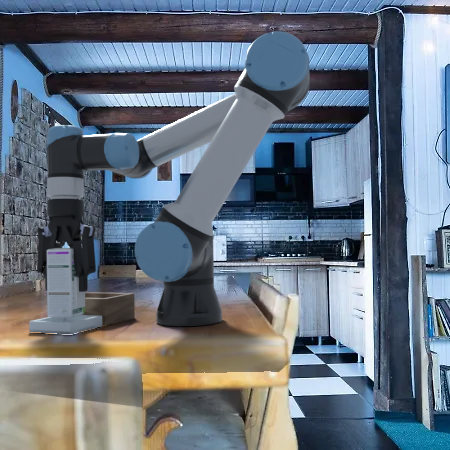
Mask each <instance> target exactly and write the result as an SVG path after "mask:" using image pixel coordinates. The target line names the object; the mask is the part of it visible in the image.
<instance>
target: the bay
mask: <svg viewBox="0 0 450 450" xmlns="http://www.w3.org/2000/svg"><path fill="white" fill-rule="evenodd" d="M135 310H136V309H135V293H134V292H133V293H131V292H127V293H126V292H125V293H124V292H89V291H85V313H84V314H82V315H97V316H102V325H108V326H110V325H109V324H112V325H115V324H118V322H119V323H122V322H126V321H129V320H134V319H135V318H136V316H135V315H136V314H135ZM114 323H115V324H114Z"/></svg>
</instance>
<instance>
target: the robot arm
mask: <svg viewBox="0 0 450 450" xmlns="http://www.w3.org/2000/svg"><path fill="white" fill-rule="evenodd" d="M310 64H311V63H310V57H309V53H308V51H307V50H306V47H305V45H304V44H303V42H302V41H301V40H300V38H298V37H297V36H295V35H293V34H291V33H289V32H286V31H279V30H278V31H277V30H276V31H271V32H267V33H264V34H262V35H260V36H258V37H257V38H256V39H255V40H254V41H253V42H252V43H251V45H250V46H249V47H248V49H247V53H246V55H245V61H244V67H245V68H244V70H243V71H242V73H241V75H240V76H239V77H238V81H237V82H236V83H235V85H234V87H233V89H234V93H232V94H231V95H228V96H227V97H225V98H222V99H220V100H218V101H216V102H214V103H212V104H209V105H208V106H206V107H203V108H201V109H199V110H197V111H194V112H193V113H191V114H189V115H187V116H185V117H183V118H181V119H178V120H177V121H175V122H172V123H170V124H168V125H166V126H163V127H162V128H160V129H158V130H156V131H154V132H152V133H149V134H148V135H145V136H143V137H141V138H139V139H138V140H137V139H136V137H135V136H134V135H133V134H132V133H129V132H128V133H123V132H114V133H113V132H112V133H104V134H103V133H102V134H101V133H99V134H91V135H90V134H89V135H87V134H86V135H84V130H83V128H81V127H79V126H76V125H69V124H68V125H64V124H59V125H54V126H53V125H52V126H51V127H50V128H49V129H48V131H47V136H46V137H47V139H46V140H47V141H46V146H45V147H46V154H47V155H46V157H47V158H46V162H47V164H46V165H47V179H46V180H47V181H46V185H47V186H46V187H47V188H46V197H47V198H49V199H48V200H47V202H46V204H47V205H46V207H47V208H46V211H47V212H46V215H47V217H48V218H49V222H48V225H47V226H45V227H38V228H37V231H36V232H37V236H38V246H37V247H38V250H37V266H36V267H37V268H36V272H37V273H38V274H43V276H44V278H45V279H44V283H45V285H44V288H45V291H46V292H47V250H48V249H54V248H64V246H65V245H67V247H68V248H71V249H73V253H74V265H75V269H76V272H77V274H76V275H75V276H76V277H74V308H80V307H85V292H88V290H89V289H88V288H89V287H88V285H89V284H88V278H89V275H91V274H94V273H96V271H97V265H96V253H95V241H94V240H95V239H94V238H95V233H96V227H95V226H91V225H86V224H84V220H83V217H84V215H85V201H84V200H82V198H83V197H84V195H85V194H84V193H85V191H84V180H85V176H84V174H85V171H86V172H88V171H89V172H90V171H110V172H113V173H116V174H119V175H122V176H125V177H127V178H130V179H134V180H135V179H143V178H146V177H148V176H149V175H150V174H151V173H152V171H153V170H154V169H156V168H157V167H159V166H162V165H163V164H166V163H169V162H171V161H172V160H175V159H176V158H178V157H181V156H182V155H183V156H184V155H185V154H187V153H189V152H192V151H194V150H195V149H198V148H200V147H202V146H206V145H207V144H208V146H207V147H206V149H205V151H204V152H203V154H202V156H201V158H200V159H199V161H198V163H197V164H196V166H195V167H194V169H193V171H192V173H191V174H190V176H189V178H188V179H187V181H186V183H185V184H184V186H183V188H182V190H181V191H180V192H179V195H178V196H177V198H176V200H175V201H174V202H171V203H167V204H164V206H163V207H162V208H161V210H160V212H159V214H158V215H157V218H156V219H155V221H154V222H152V223H150V224H148V225H147V226H146V227H143V229H142V230H141V231H140V233H139V234H138V236H137V238H136V240H135V242H134V243H135V244H134V256H135V259H136V262H137V265H138V267H139V269H140V270H141V271H142V272H143V274H145V276H147V277H149V278H151V279H153V280H155V281H158V282H163V287H162V288H163V289H162V293H161V297H160V300H159V304H158V307H157V310H156V312H155V314H156V316H155V317H156V318H155V320H156V321H155V322H156V324H159V325H162V326H168V327H169V326H170V327H171V326H172V327H195V326H196V327H199V326H200V327H201V326H208V325H213V324H218V323H221V322H222V321H223V311H222V307H221V304H220V301H219V298H218V295H217V292H216V289H215V274H214V273H215V271H214V269H215V267H214V265H215V263H214V239H215V234H214V228H213V221H214V220H215V218H216V217H217V215H218V214H219V212H220V210H221V209H222V207H223V205H224V204H225V202H226V200H227V199H228V197H229V196H230V194H231V192H232V191H233V188H234V187H235V185H236V183H237V182H238V180H239V178H240V176H241V175H242V173H243V172H244V171H245V169H246V166H247V165H248V163H249V162H250V160H251V159H252V157H253V155H254V154H255V152H256V150H257V148H259V146H260V143H261V142H262V140H263V138H264V137H265V136H266V134H267V133H268V130H269V128H271V125H272V124H273V123H274V122H275V121H279V120H282V119H284V118H285V117H286V115H287V113H289V111H291V110H293V109H295V108H296V107H297V106H299V105H300V104H301V103H302V102H303V101H304V100H305V98H306V97H307V95H308V93H309V91H310V87H311V74H310Z"/></svg>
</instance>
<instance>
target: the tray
mask: <svg viewBox="0 0 450 450" xmlns="http://www.w3.org/2000/svg"><path fill="white" fill-rule="evenodd" d="M28 324H29V328H28V329H29V332H41V333H57V334H74V333H77V332H81V331H85V330H89V329H94V328H97V327H101V326H102V316H97V315H78V316H75V317H73V318H53V317H48V316H47V317H43V318H38V319H34V320H29V322H28ZM102 327H103V326H102ZM102 327H101V328H102ZM97 329H98V328H97ZM94 330H95V329H94Z"/></svg>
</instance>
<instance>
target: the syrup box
mask: <svg viewBox="0 0 450 450" xmlns="http://www.w3.org/2000/svg"><path fill="white" fill-rule="evenodd" d="M76 274H77V272H76V269H75V265H74V253H73V249H71V248H70V247H62V248H54V249H48V250H47V291H46V293H47V294H46V297H47V298H46V301H47V303H46V305H47V309H46V310H47V317H53V318H73V317H75V316H78V315H82V314H84V313H85V307H80V308H74V277H76V276H75V275H76Z"/></svg>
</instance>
